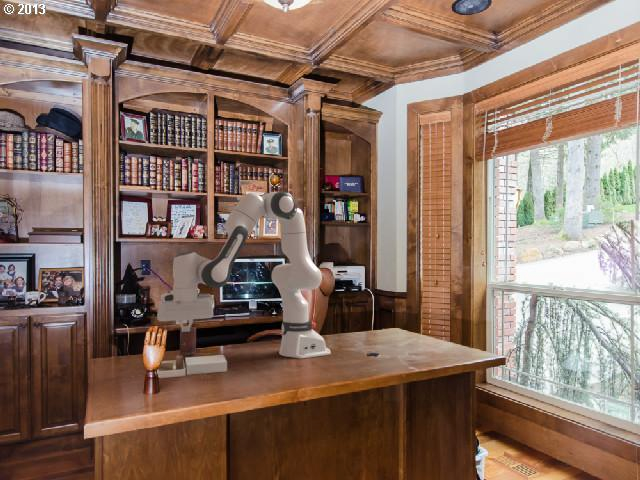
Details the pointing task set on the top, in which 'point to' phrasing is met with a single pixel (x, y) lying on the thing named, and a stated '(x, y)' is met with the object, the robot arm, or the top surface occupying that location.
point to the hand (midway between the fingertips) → (185, 331)
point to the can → (188, 343)
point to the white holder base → (205, 364)
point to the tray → (172, 371)
